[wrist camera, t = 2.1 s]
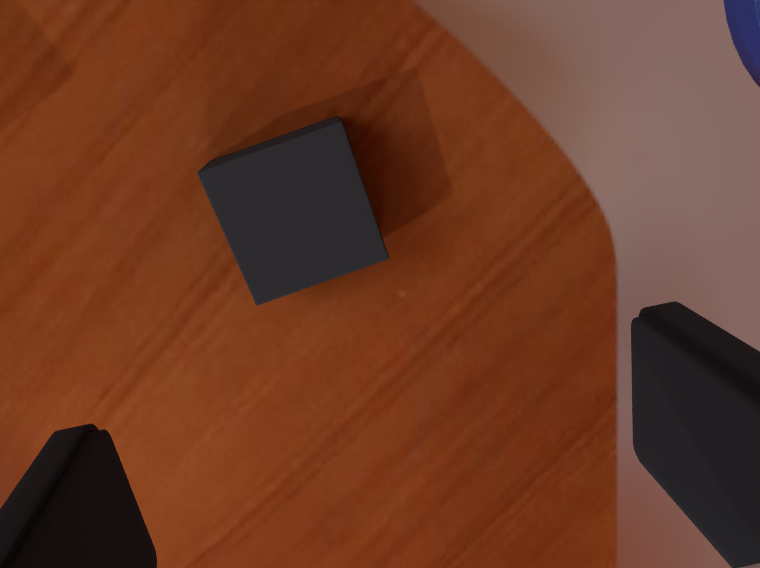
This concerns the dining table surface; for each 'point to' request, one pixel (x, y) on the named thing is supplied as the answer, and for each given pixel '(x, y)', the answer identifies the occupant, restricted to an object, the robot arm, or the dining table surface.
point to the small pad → (294, 210)
